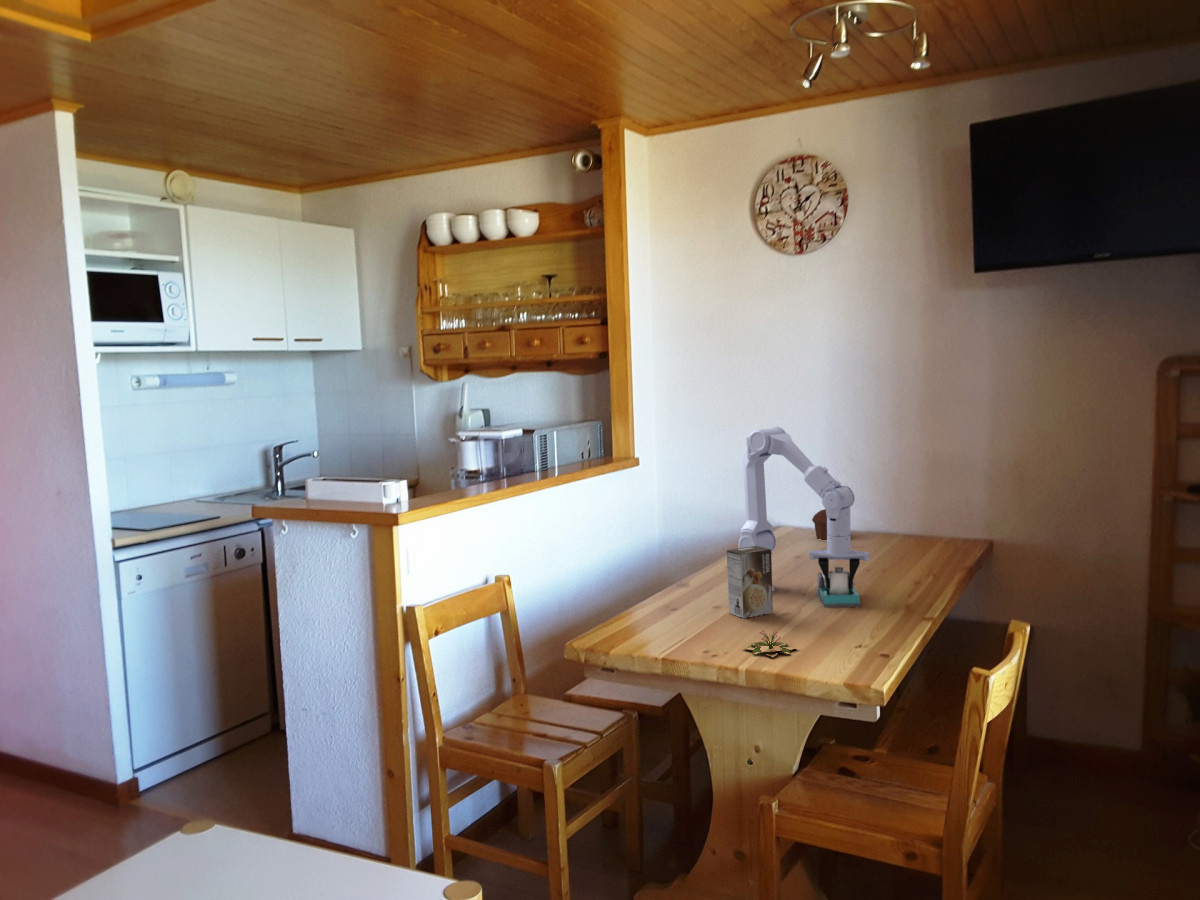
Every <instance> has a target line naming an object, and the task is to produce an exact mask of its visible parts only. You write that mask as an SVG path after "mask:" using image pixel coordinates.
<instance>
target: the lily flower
mask: <svg viewBox="0 0 1200 900" xmlns="http://www.w3.org/2000/svg"><path fill="white" fill-rule="evenodd" d="M761 631H762V632H761ZM761 631H759V633H760V634H761V635H763V638H762V637H761V639H760V640H762V641H758V642H753V643H751V645H752V647H757V648H755V649H754V650H753V651H752V654H753V653H756V652H760V653H758V654H763V653H764V652H761V650H760V648H761V647H760V646H769V649H772V648H773V646H779V645H781V644H784V642H779V640H780V639H781V637H780V636H779V637H778V635H777V634H778V631H777V632H775V631H776V630H773V633H772V634H771V635H769V637H768V634H766V632H765V630H762V629H761ZM777 637H778V638H777ZM776 638H777V639H776ZM775 639H776V640H775ZM768 641H769V643H768ZM770 641H771V642H770ZM764 642H766V643H767V644H766V643H764ZM772 642H773V643H772ZM770 643H771V644H770ZM753 644H755V645H753ZM785 644H786V645H781V646H779V647H780V648H782V650H781V649H780V650H781V651H782V652H781V653H782V654H784V653H783V652H788V653H791V651H789V649H786V648H783V647H787V646H788V643H785ZM758 645H759V646H758ZM772 645H773V646H772ZM747 647H748V648H749V647H750V646H747ZM792 647H793V646H792ZM793 648H795V647H793ZM769 649H768V650H769ZM772 650H773V649H772ZM758 654H757V655H758Z"/></svg>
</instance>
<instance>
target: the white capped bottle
mask: <svg viewBox="0 0 1200 900" xmlns="http://www.w3.org/2000/svg"><path fill="white" fill-rule="evenodd" d="M849 572H850V571H847V570H844V567H843V566H835V567H834V570H830V571H829V595H835V594H849Z"/></svg>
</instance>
